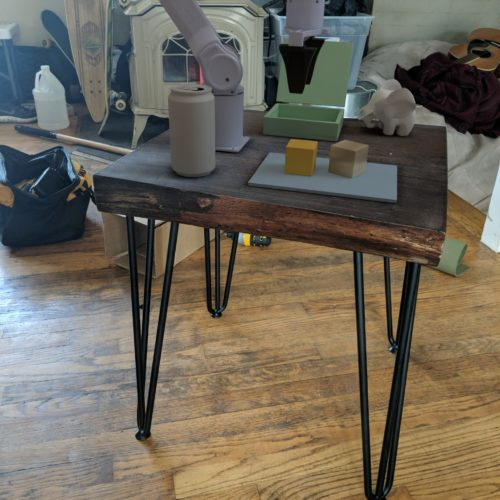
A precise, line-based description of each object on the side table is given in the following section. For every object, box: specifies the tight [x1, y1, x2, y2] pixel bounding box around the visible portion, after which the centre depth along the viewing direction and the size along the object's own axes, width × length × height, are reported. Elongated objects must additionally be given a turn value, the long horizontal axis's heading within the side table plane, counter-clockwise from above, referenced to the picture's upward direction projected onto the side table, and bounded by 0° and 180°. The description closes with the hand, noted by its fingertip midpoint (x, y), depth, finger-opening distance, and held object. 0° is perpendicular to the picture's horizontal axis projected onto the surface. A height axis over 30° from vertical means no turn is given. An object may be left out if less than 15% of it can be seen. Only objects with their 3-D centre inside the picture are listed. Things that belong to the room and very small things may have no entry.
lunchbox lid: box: [276, 38, 355, 108], centre depth 101 cm, size 12×13×3 cm
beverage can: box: [167, 83, 216, 178], centre depth 73 cm, size 6×6×12 cm
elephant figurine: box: [354, 78, 423, 137], centre depth 95 cm, size 10×12×9 cm
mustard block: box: [284, 138, 319, 176], centre depth 75 cm, size 4×4×4 cm
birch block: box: [328, 139, 370, 178], centre depth 75 cm, size 4×4×4 cm
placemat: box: [247, 151, 398, 204], centre depth 75 cm, size 20×14×1 cm
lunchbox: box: [262, 102, 345, 142], centre depth 96 cm, size 11×13×3 cm
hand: (300, 88), depth 84 cm, fingers open, 7 cm apart
